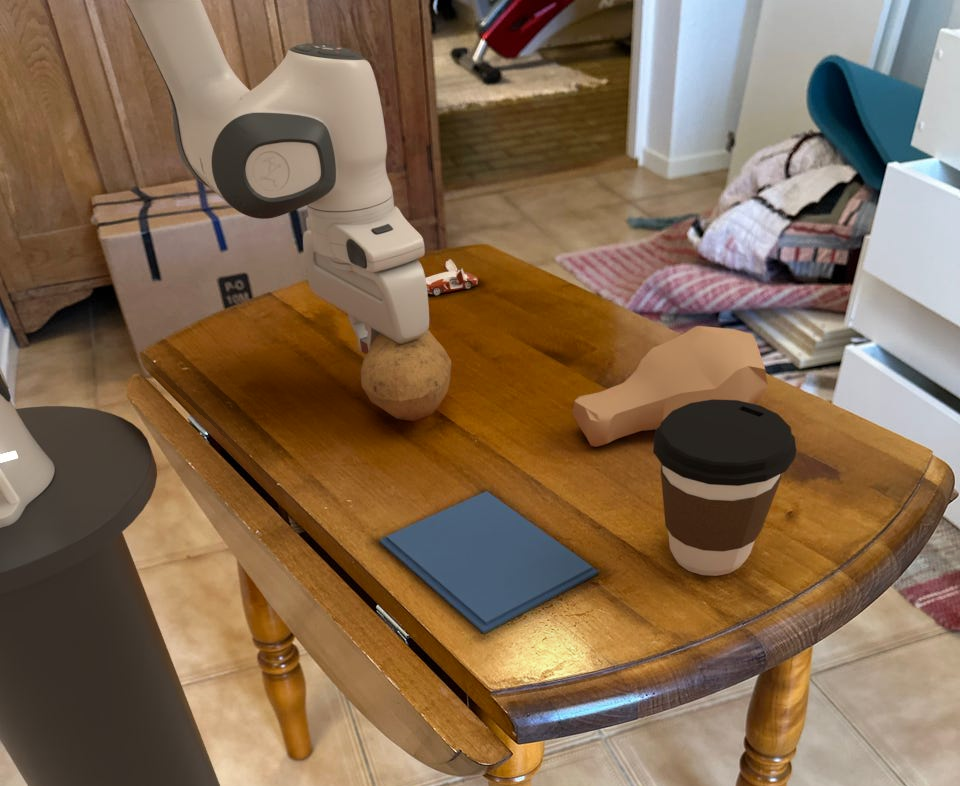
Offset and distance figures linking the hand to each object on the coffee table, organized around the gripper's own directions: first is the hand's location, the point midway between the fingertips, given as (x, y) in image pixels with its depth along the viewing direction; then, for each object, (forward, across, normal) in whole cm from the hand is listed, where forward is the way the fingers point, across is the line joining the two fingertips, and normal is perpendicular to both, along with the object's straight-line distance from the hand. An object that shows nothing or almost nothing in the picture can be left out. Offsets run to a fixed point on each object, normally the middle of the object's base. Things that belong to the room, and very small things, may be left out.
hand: (372, 353), depth 105 cm
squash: (+4, +30, +17) cm, 35 cm away
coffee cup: (+4, +48, +4) cm, 48 cm away
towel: (+3, +35, -11) cm, 37 cm away
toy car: (+4, -16, +22) cm, 28 cm away
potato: (+3, +9, -1) cm, 9 cm away
